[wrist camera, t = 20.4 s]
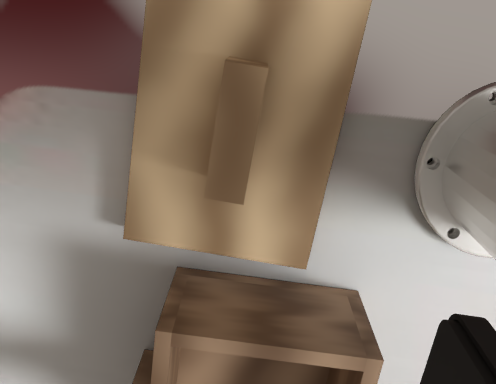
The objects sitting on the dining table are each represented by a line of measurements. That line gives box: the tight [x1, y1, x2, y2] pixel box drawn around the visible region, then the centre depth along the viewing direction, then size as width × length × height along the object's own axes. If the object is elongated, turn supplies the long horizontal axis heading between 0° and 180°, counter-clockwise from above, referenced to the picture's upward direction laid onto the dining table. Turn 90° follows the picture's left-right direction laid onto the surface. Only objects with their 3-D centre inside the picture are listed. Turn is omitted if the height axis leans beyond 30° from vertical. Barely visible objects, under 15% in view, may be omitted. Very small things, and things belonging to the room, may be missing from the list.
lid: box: [123, 0, 372, 269], centre depth 30 cm, size 13×19×6 cm
